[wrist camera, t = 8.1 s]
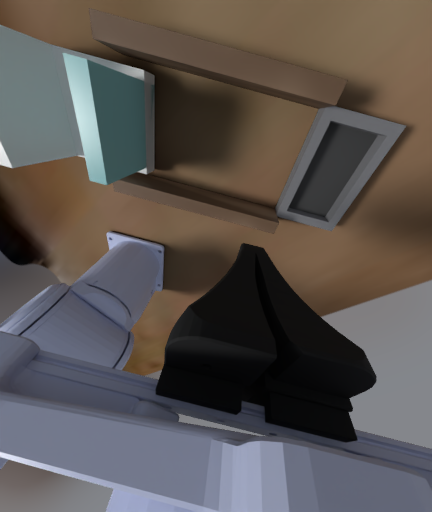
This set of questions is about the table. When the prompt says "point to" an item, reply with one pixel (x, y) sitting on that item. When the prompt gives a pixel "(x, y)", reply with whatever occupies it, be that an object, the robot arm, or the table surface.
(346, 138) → the tray
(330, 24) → the table surface
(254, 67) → the channel
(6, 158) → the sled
